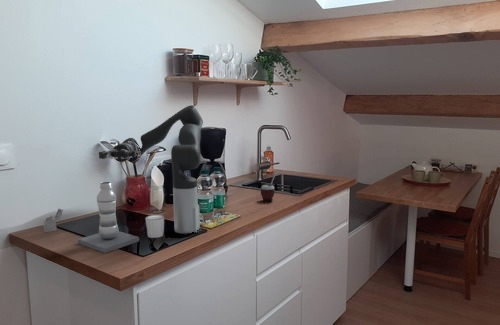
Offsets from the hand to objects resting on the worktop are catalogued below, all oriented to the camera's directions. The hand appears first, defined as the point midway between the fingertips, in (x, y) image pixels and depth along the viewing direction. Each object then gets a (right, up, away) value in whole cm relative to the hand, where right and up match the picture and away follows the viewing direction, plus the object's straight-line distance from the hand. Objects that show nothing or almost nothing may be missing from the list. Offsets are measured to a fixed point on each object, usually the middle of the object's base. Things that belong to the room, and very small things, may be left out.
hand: (113, 156), depth 159 cm
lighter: (-23, -29, -1) cm, 37 cm away
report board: (+4, -31, -15) cm, 35 cm away
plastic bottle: (+4, -30, -15) cm, 34 cm away
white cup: (+18, -30, -8) cm, 36 cm away
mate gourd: (+63, -22, +44) cm, 80 cm away
